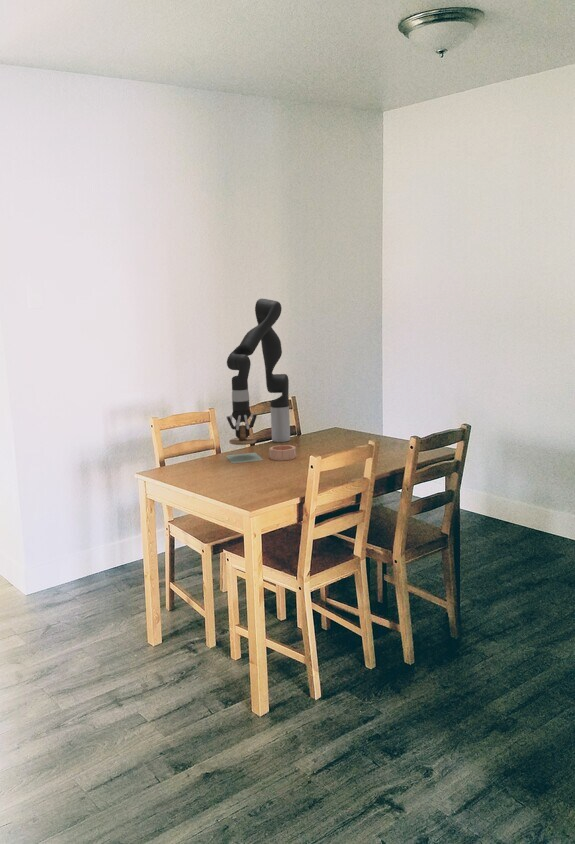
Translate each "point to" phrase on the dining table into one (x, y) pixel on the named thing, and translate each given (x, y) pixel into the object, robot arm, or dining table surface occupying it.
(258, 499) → the dining table surface
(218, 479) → the dining table surface
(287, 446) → the bowl
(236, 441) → the lid
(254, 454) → the mat
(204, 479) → the dining table surface
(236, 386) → the robot arm
